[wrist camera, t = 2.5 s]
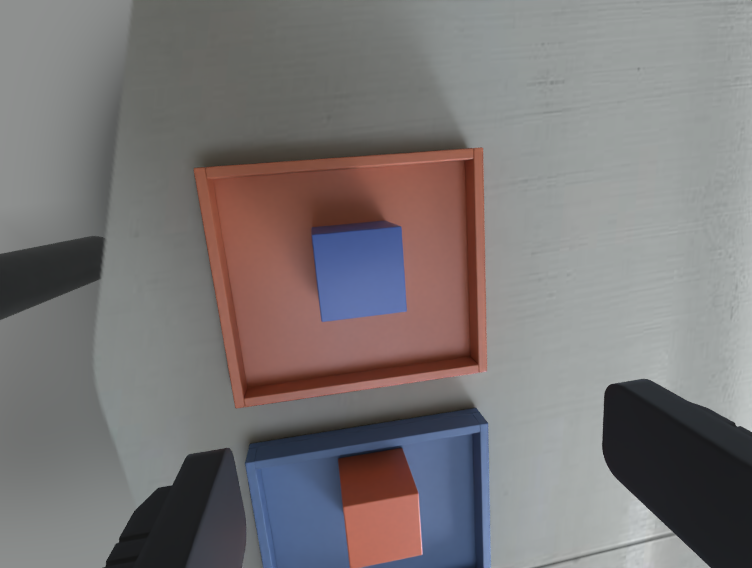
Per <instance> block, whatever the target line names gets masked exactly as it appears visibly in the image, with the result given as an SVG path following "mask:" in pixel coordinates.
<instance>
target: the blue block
mask: <svg viewBox="0 0 752 568" xmlns="http://www.w3.org/2000/svg"><path fill="white" fill-rule="evenodd" d="M311 236H312V245H313V254H314V262H315V271H316V280H317V288H318V297H319V306H320V314H321V321H322V322H327V321H335V320H343V319H351V318H359V317H367V316H375V315H383V314H392V313H400V312H406V311H407V304H406V288H405V273H404V257H403V242H402V227H401V226H399V225H396V224H393V223H391V222H388V221H374V222H363V223H352V224H341V225H331V226H320V227H312V228H311Z"/></svg>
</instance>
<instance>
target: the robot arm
mask: <svg viewBox="0 0 752 568" xmlns="http://www.w3.org/2000/svg"><path fill="white" fill-rule="evenodd" d="M602 449H603V455H604V458H605V461H606V463H607V466H608V467H609V469H610V471H611V472H612V474H613V475H614V476H615V477H616V478H617V479H618V480H619V481H620V482H621V483H622V484H623V485H624V486H625V487H626V488H627V489H628V490H629V491H630V492H631V493H632V494H633V495H634V496H636V497H637V498H638V499H639V500H640V501H641V502H642V503H643V504H644V505H645V506H646V507H647V508H648V509H649V510H650V511H651V512H652V513H654V514H655V515H656V516H657V517H658V518H659V519H660V520H661V521H662V522H663V523H664V524H665V525H666V526H667V527H668V528H669V529H670V530H672V531H673V532H674V533H675V534H676V535H677V536H678V537H679V538H680V539H681V540H682V541H683V542H684V543H685V544H686V545H687V546H688V547H690V548H691V549H692V550H693V551H694V552H695V553H696V554H697V555H698V556H699V557H700V558H701V559H702V560H703V561H704V562H705V563H706V564H708V565H709V566H710V567H711V568H752V432H750V431H749V430H747V429H745V428H743V427H741V426H739V427H737V426H736V425H735V423H734V422H732V421H730V420H728V419H727V418H725V417H723V416H721V415H719V414H718V413H716V412H714V411H712V410H710V409H708V408H706V407H703V406H700V405H697V404H694V403H691V402H689V401H687V400H685V399H683V398H681V397H680V396H678V395H676V394H674V393H672V392H671V391H669V390H667V389H665V388H663V387H662V386H660V385H658V384H656V383H654V382H653V381H651V380H648V379H639V380H633V381H627V382H621V383H616V384H611V385H609V386H608V387H607V389H606V391H605V395H604V417H603V441H602ZM245 546H246V518H245V512H244V506H243V501H242V496H241V491H240V486H239V481H238V476H237V471H236V466H235V461H234V457H233V453H232V451H231V449H230V448H224V449H218V450H212V451H206V452H200V453H194V454H189V455H188V456H187V457H186V458H185V460H184V462H183V464H182V467H181V469H180V471H179V473H178V475H177V477H176V479H175V481H174V483H173V485H172V486H166V487H161V488H158V489H157V490H156V491H154V492H153V493H152V494H151V495H150V496H149V497H148V498H147V499H146V500H145V501H144V502H143V503H142V504H141V505H140V506H139V507H138V508H137V509H136V510H135V511H134V513H133V515H132V516H131V518H130V520H129V522H128V523H127V525H126V527H125V529H124V530H123V532H122V534H121V536H120V538H119V543H117V544H116V545H115V547H114V548H113V550H112V552H111V554H110V556H109V557H108V559H107V561H106V567H104V568H242V564H243V558H244V553H245Z"/></svg>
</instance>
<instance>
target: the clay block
mask: <svg viewBox="0 0 752 568" xmlns="http://www.w3.org/2000/svg"><path fill="white" fill-rule="evenodd" d="M338 465H339V474H340V484H341V494H342V504H343V513H344V522H345V531H346V539H347V548H348V557H349V565H350V568H361V567H365V566H370V565H375V564H380V563H385V562H390V561H395V560H400V559H405V558H409V557H414V556H419V555H422V538H421V522H420V507H419V493H418V490H417V487H416V484H415V482H414V479H413V476H412V473H411V471H410V468H409V465H408V462H407V459H406V457H405V454H404V451H403V449H402V448H397V449H391V450H385V451H379V452H374V453H368V454H362V455H356V456H350V457H344V458H339V459H338Z"/></svg>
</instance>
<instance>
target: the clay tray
mask: <svg viewBox="0 0 752 568" xmlns="http://www.w3.org/2000/svg"><path fill="white" fill-rule="evenodd" d="M194 175H195V180H196V186H197V192H198V198H199V203H200V209H201V215H202V220H203V226H204V232H205V237H206V243H207V249H208V255H209V260H210V266H211V272H212V277H213V283H214V289H215V295H216V300H217V306H218V312H219V317H220V323H221V329H222V334H223V340H224V346H225V352H226V357H227V363H228V369H229V374H230V380H231V386H232V392H233V397H234V403H235V408H242V407H250V406H257V405H264V404H270V403H277V402H284V401H291V400H298V399H304V398H311V397H318V396H325V395H332V394H338V393H345V392H352V391H359V390H366V389H372V388H379V387H386V386H393V385H400V384H406V383H413V382H420V381H427V380H434V379H440V378H447V377H454V376H461V375H468V374H474V373H478V372H479V373H480V372H487V343H486V288H485V233H484V178H483V148H468V149H453V150H439V151H425V152H411V153H397V154H383V155H369V156H354V157H340V158H326V159H312V160H298V161H284V162H270V163H255V164H241V165H227V166H213V167H206V168H205V167H199V168H194ZM374 221H388V222H391V223H393V224H396V225H399V226H401V227H402V242H403V257H404V273H405V288H406V304H407V311H406V312H400V313H392V314H383V315H375V316H367V317H359V318H351V319H343V320H335V321H327V322H322V321H321V314H320V306H319V297H318V288H317V280H316V271H315V262H314V254H313V245H312V236H311V228H312V227H320V226H331V225H341V224H352V223H363V222H374Z"/></svg>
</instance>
